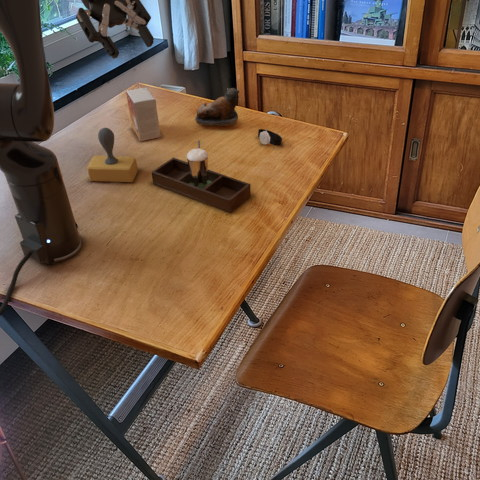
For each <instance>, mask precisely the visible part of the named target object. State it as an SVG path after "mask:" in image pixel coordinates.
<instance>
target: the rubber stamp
mask: <svg viewBox="0 0 480 480" xmlns="http://www.w3.org/2000/svg"><path fill="white" fill-rule="evenodd" d="M97 139H98V142H99V143H100V145H101V147H102V148H103V150H104V151H105V153H106V155H93V157H92V158H91V159H90V162H89V163H88V164H87V166H86V170H87V175H88V178H89V182H107V183H109V182H110V183H111V182H112V183H133V182H134V180H135V178H136V175H137V174H138V172H139V170H138V163H137V158H136V156H126V155H125V156H120V155H114V152H113V151H114V145H115V133H114V131H113V130H111V128H108V127H102V128H100V130H99V131H98V133H97Z"/></svg>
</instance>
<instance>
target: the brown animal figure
mask: <svg viewBox="0 0 480 480" xmlns="http://www.w3.org/2000/svg"><path fill="white" fill-rule="evenodd" d="M239 94H240V89H239V88H236V87H230V88H229V87H227V89H226V92H225V94H224V96H219V97H218V98H216V99H215V100H214V101H212V102H210V103H208V104H207V103H206V102H203V103H202V104H201V105H199V106H198V109H197V110H196V116H195V122H196V123H197V124H198V125H201V126H205V127H229V126H234V125H237V124H238V120H239V115H238V112H237V111H236V109H235V108H236V107H237V105H238V104H239V98H240V95H239Z"/></svg>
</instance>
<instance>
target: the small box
mask: <svg viewBox="0 0 480 480" xmlns="http://www.w3.org/2000/svg"><path fill="white" fill-rule="evenodd" d="M125 95H126V101H127V105H128V111H129V112H128V113H129V117H130V122H131V127H132V130H133V131H134V133H135V135H136V136H137V138H138V140H139V142H143V141H149V140H153V139H158V138H161V137H162V136H161V130H160V122H159V114H158V108H157V101H156V98H155V96H153V94H152V93H151V91H150V90H149V88H148V87H146V86H145V87H140V88H135V89H134V88H133V89H128V90H125Z"/></svg>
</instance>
